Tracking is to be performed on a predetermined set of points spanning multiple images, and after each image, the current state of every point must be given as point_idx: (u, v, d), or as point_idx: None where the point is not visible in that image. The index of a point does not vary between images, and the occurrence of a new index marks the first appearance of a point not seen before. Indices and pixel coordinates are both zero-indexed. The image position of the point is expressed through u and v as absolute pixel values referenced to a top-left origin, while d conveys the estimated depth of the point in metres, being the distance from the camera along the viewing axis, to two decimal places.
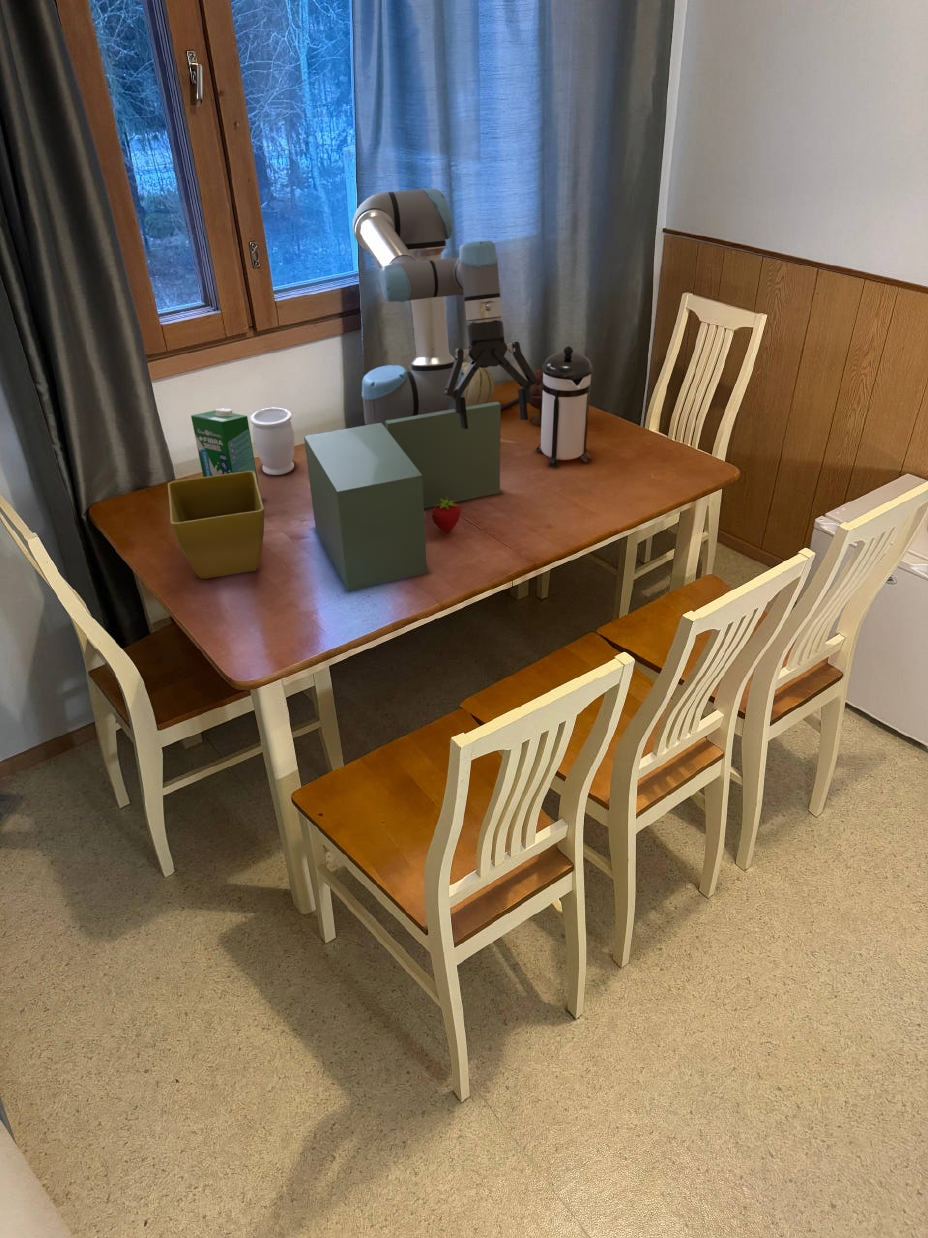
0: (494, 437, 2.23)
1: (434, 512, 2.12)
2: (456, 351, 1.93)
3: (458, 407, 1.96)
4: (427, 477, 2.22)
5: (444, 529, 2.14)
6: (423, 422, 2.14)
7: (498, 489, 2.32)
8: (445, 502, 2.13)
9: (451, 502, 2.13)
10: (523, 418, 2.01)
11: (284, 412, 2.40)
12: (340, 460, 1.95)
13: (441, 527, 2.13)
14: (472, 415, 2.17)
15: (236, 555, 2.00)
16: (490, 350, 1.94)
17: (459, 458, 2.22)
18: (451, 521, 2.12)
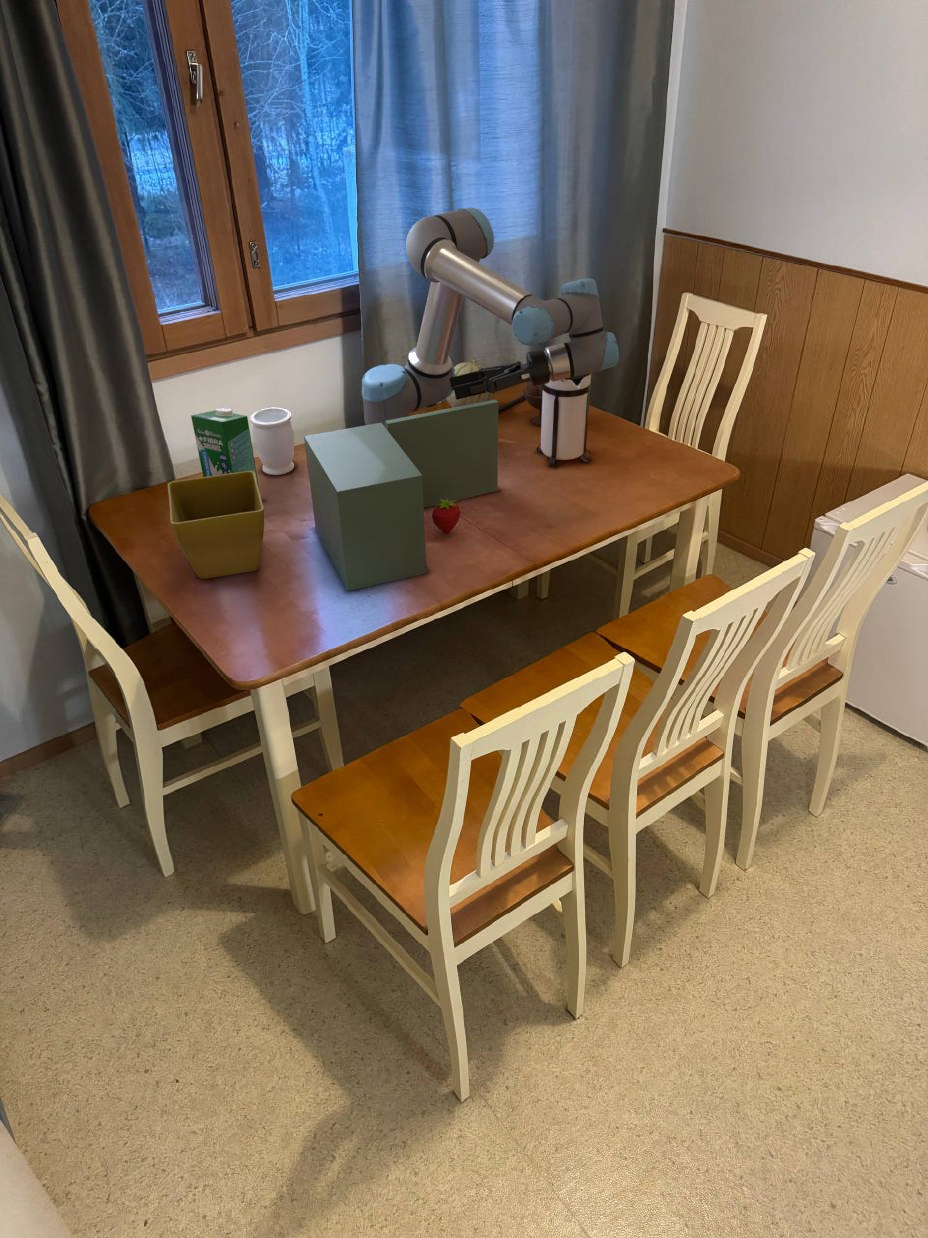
0: (492, 435, 2.24)
1: (434, 512, 2.12)
2: (527, 375, 1.96)
3: None
4: (427, 476, 2.22)
5: (444, 529, 2.14)
6: (423, 421, 2.14)
7: (496, 487, 2.33)
8: (445, 502, 2.13)
9: (451, 502, 2.13)
10: (452, 386, 2.09)
11: (284, 412, 2.40)
12: (340, 460, 1.95)
13: (441, 527, 2.13)
14: (471, 413, 2.18)
15: (236, 555, 2.00)
16: None
17: (458, 457, 2.23)
18: (451, 521, 2.12)
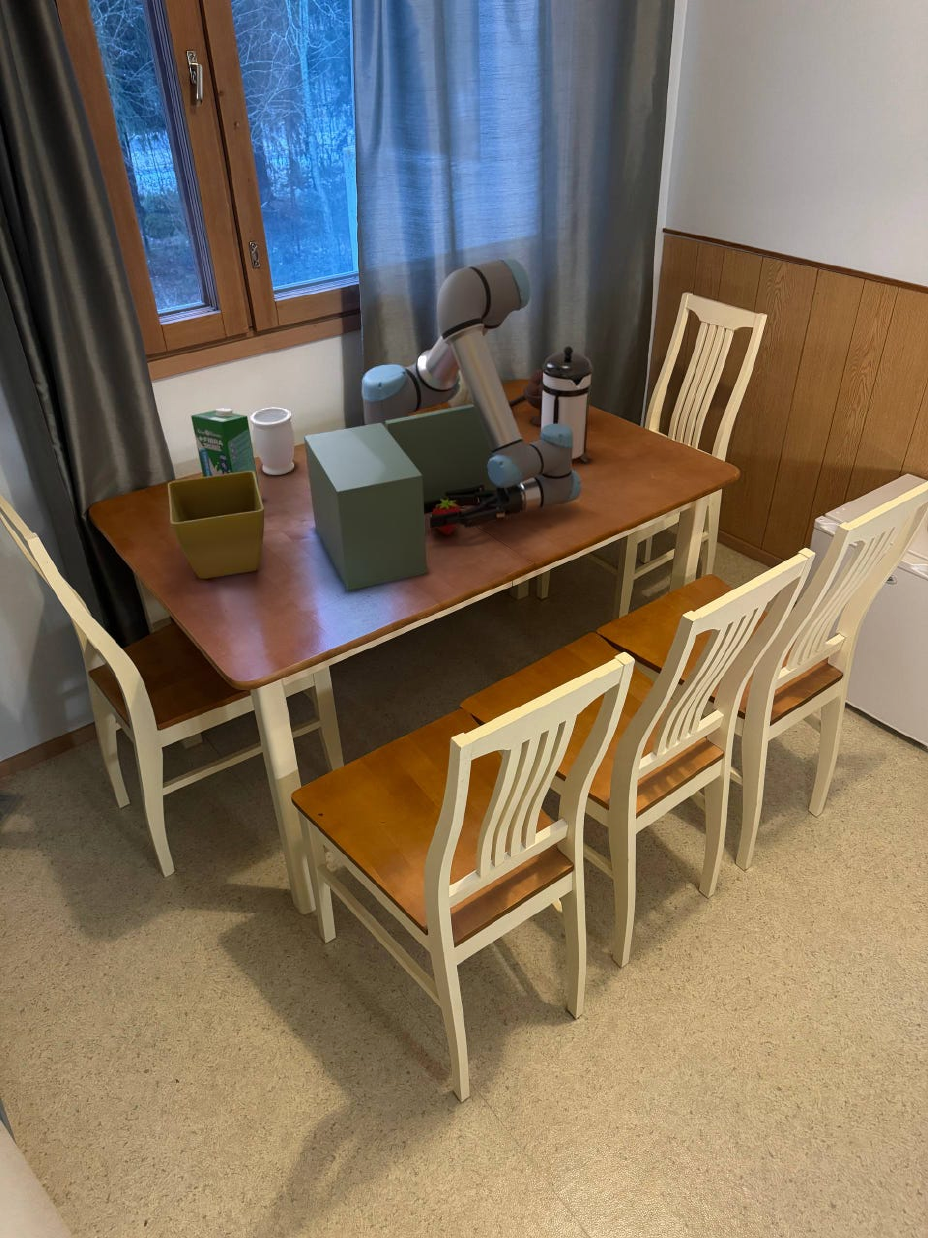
0: None
1: (434, 512, 2.12)
2: (502, 515, 2.12)
3: None
4: (427, 476, 2.22)
5: (444, 529, 2.14)
6: (423, 421, 2.14)
7: (496, 487, 2.33)
8: (445, 502, 2.13)
9: (451, 502, 2.13)
10: None
11: (284, 412, 2.40)
12: (340, 460, 1.95)
13: (441, 527, 2.13)
14: (471, 413, 2.18)
15: (236, 555, 2.00)
16: None
17: (458, 457, 2.23)
18: None
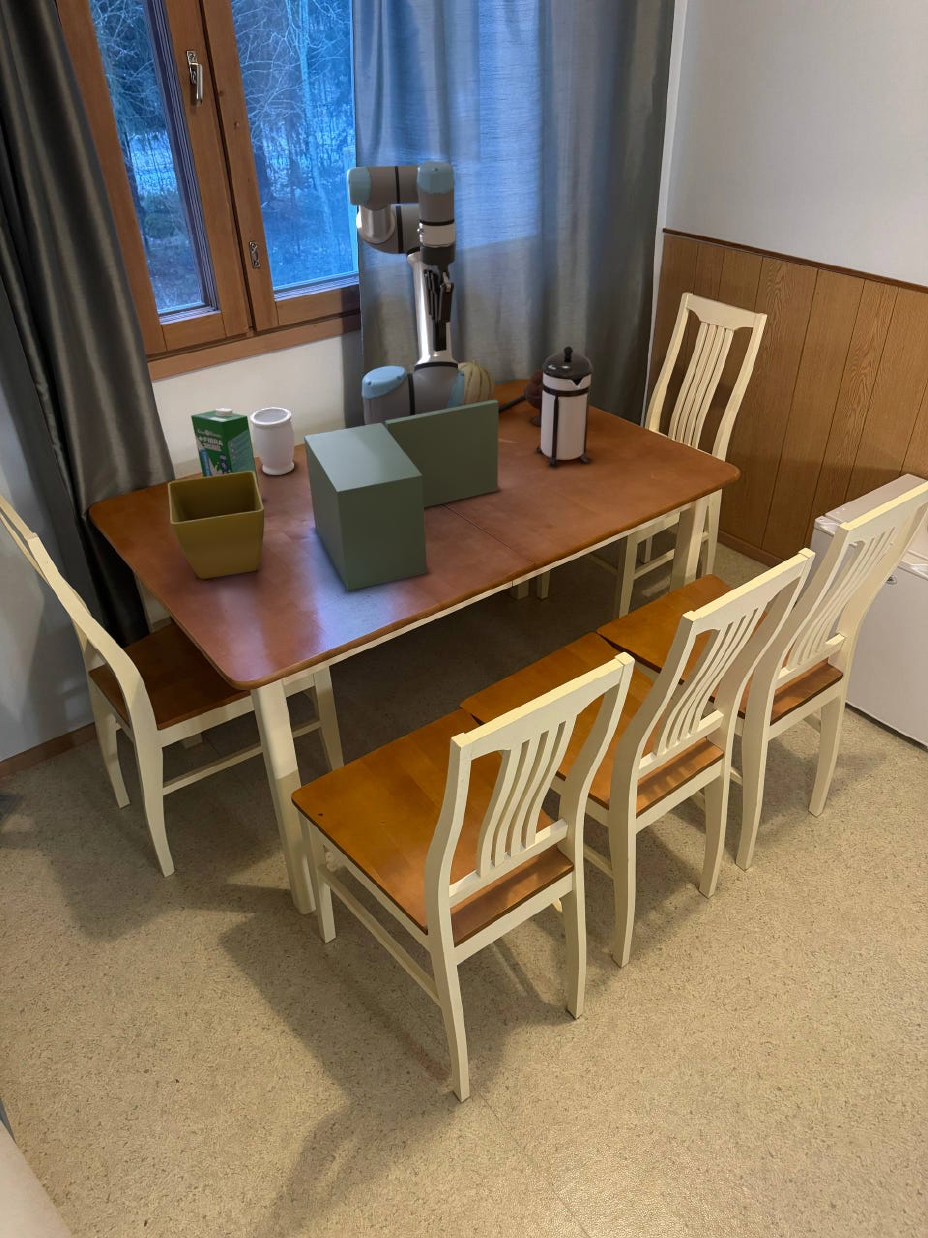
0: (492, 435, 2.24)
1: None
2: None
3: None
4: (427, 476, 2.22)
5: None
6: (423, 421, 2.14)
7: (496, 487, 2.33)
8: None
9: None
10: None
11: (284, 412, 2.40)
12: (340, 460, 1.95)
13: None
14: (471, 413, 2.18)
15: (236, 555, 2.00)
16: None
17: (458, 457, 2.23)
18: None
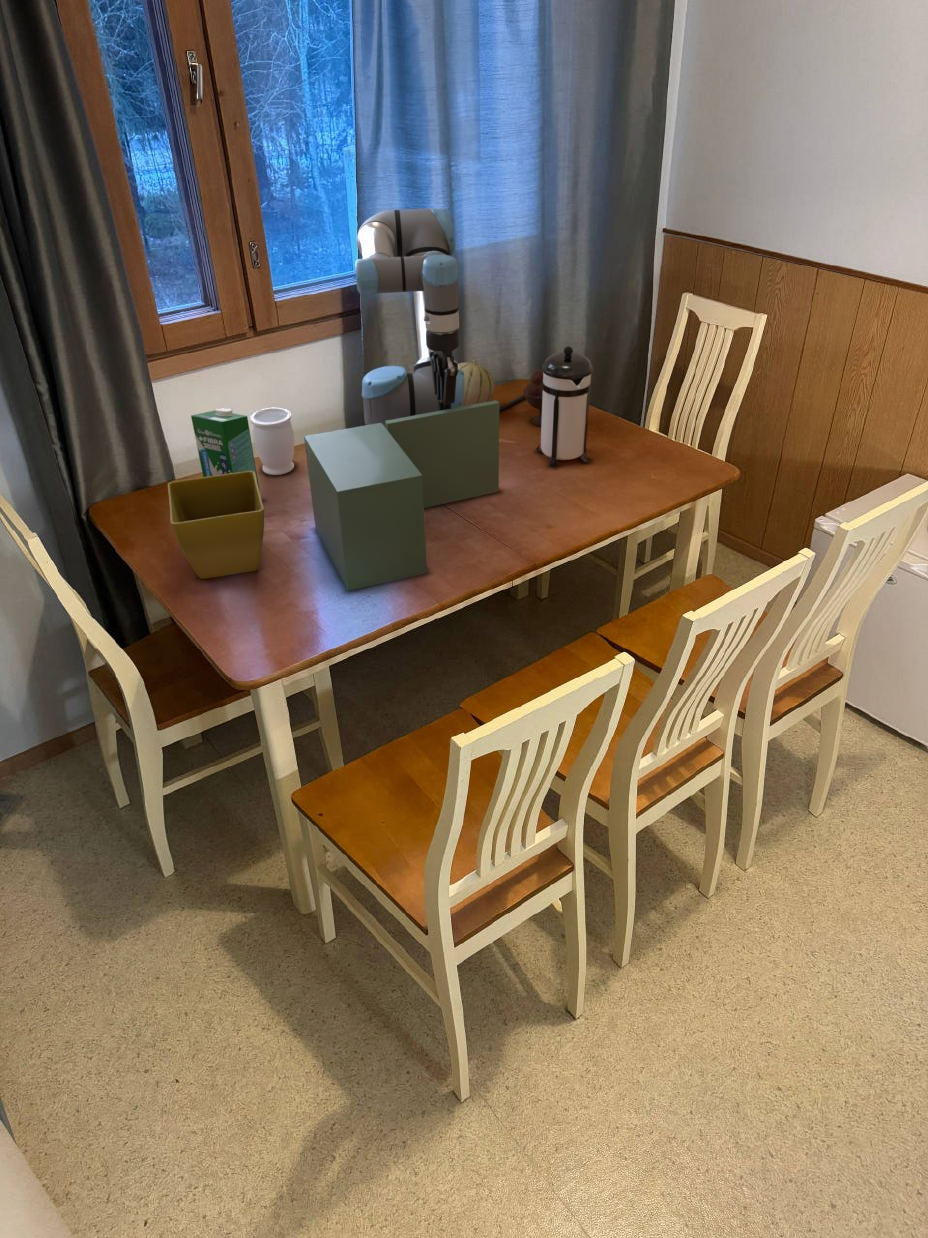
0: (492, 436, 2.23)
1: None
2: None
3: None
4: (427, 477, 2.22)
5: None
6: (423, 422, 2.14)
7: (497, 488, 2.32)
8: None
9: None
10: None
11: (284, 412, 2.40)
12: (340, 460, 1.95)
13: None
14: (471, 414, 2.18)
15: (236, 555, 2.00)
16: None
17: (458, 457, 2.23)
18: None
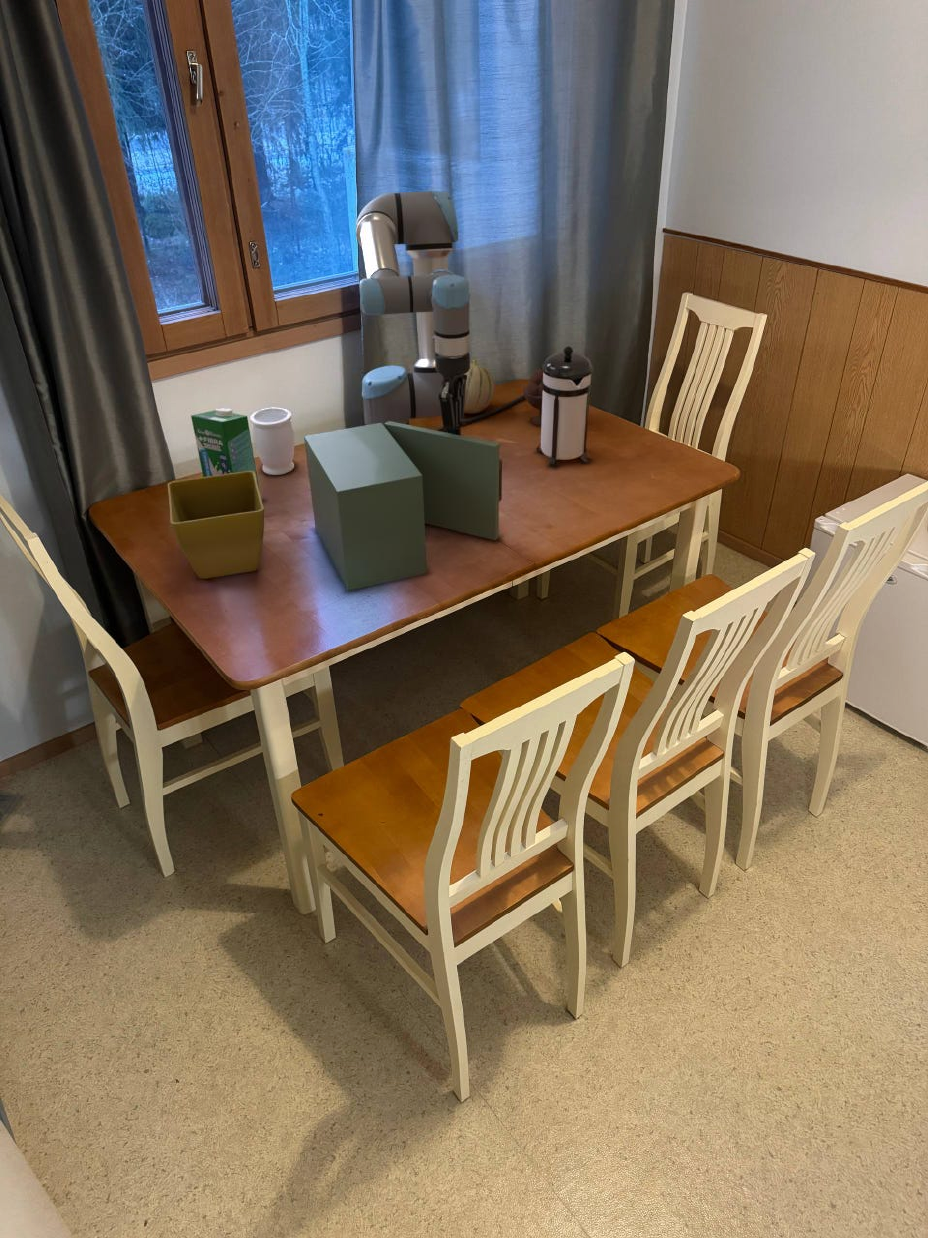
0: (489, 479, 2.06)
1: None
2: None
3: None
4: None
5: None
6: (417, 435, 2.08)
7: (493, 536, 2.13)
8: None
9: None
10: None
11: (284, 412, 2.40)
12: (340, 460, 1.95)
13: None
14: (466, 447, 2.04)
15: (236, 555, 2.00)
16: None
17: (453, 486, 2.11)
18: None
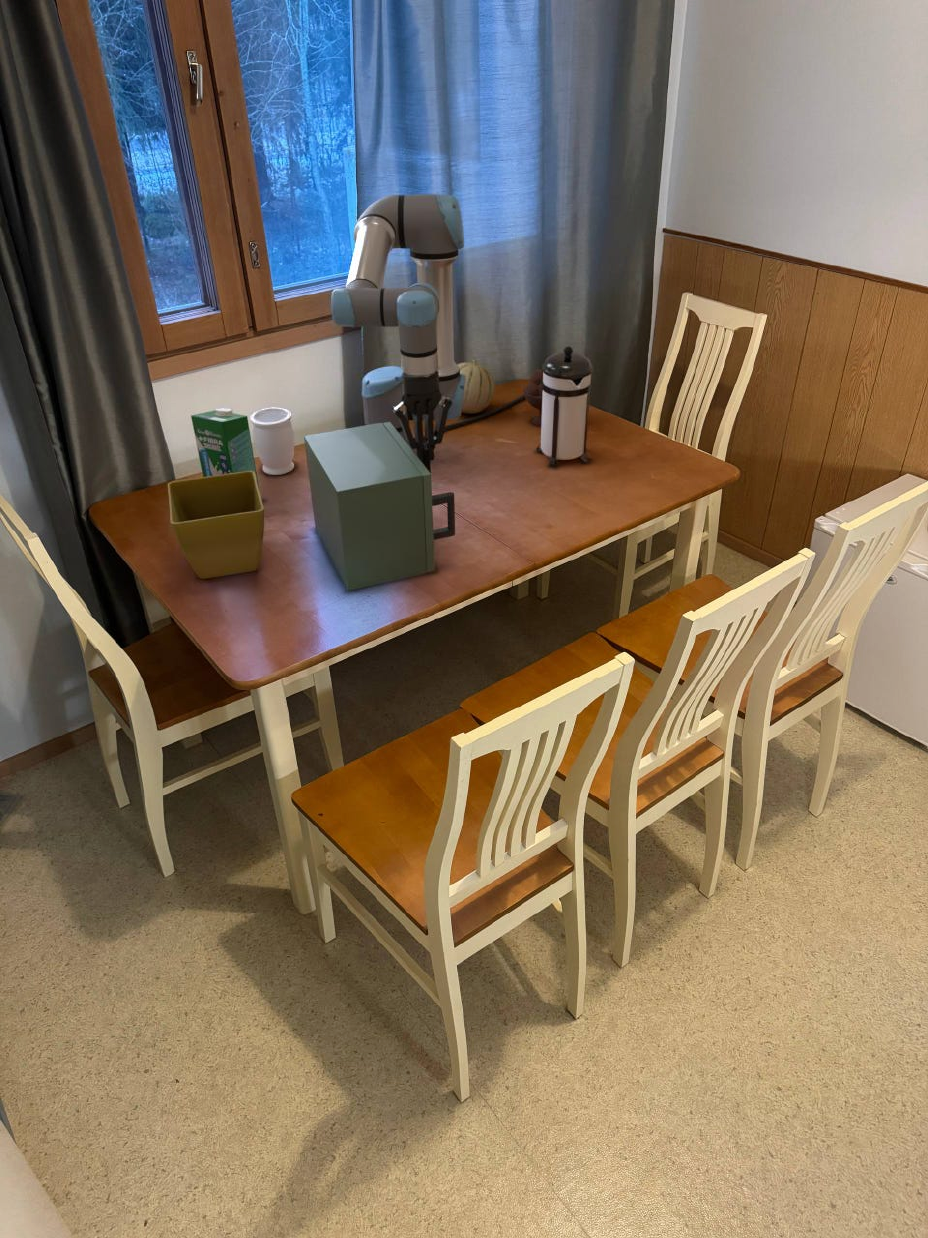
0: None
1: None
2: None
3: None
4: None
5: None
6: None
7: None
8: None
9: None
10: None
11: (284, 412, 2.40)
12: (340, 460, 1.95)
13: None
14: None
15: (236, 555, 2.00)
16: None
17: None
18: None
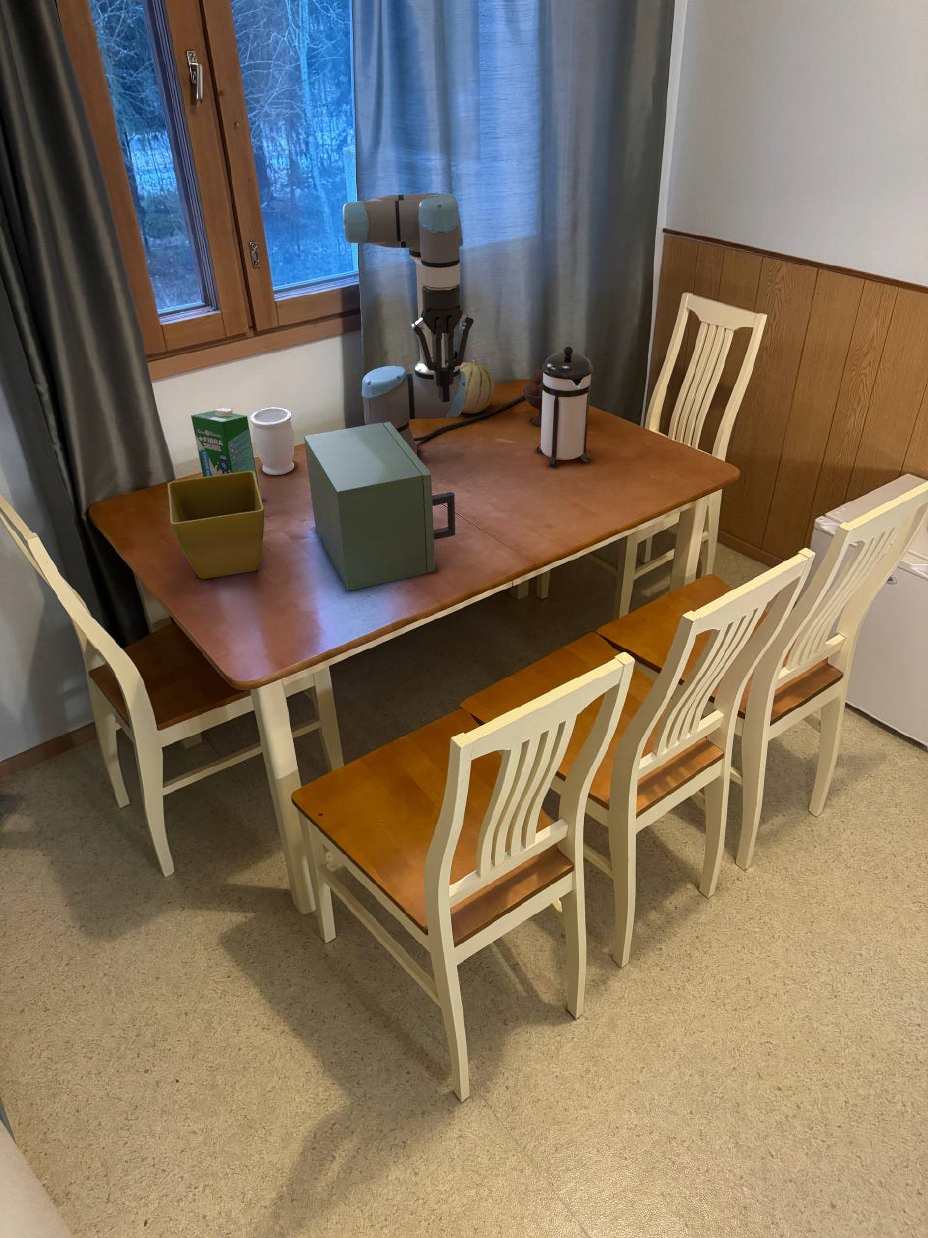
0: None
1: None
2: None
3: None
4: None
5: None
6: None
7: None
8: None
9: None
10: None
11: (284, 412, 2.40)
12: (340, 460, 1.95)
13: None
14: None
15: (236, 555, 2.00)
16: None
17: None
18: None
